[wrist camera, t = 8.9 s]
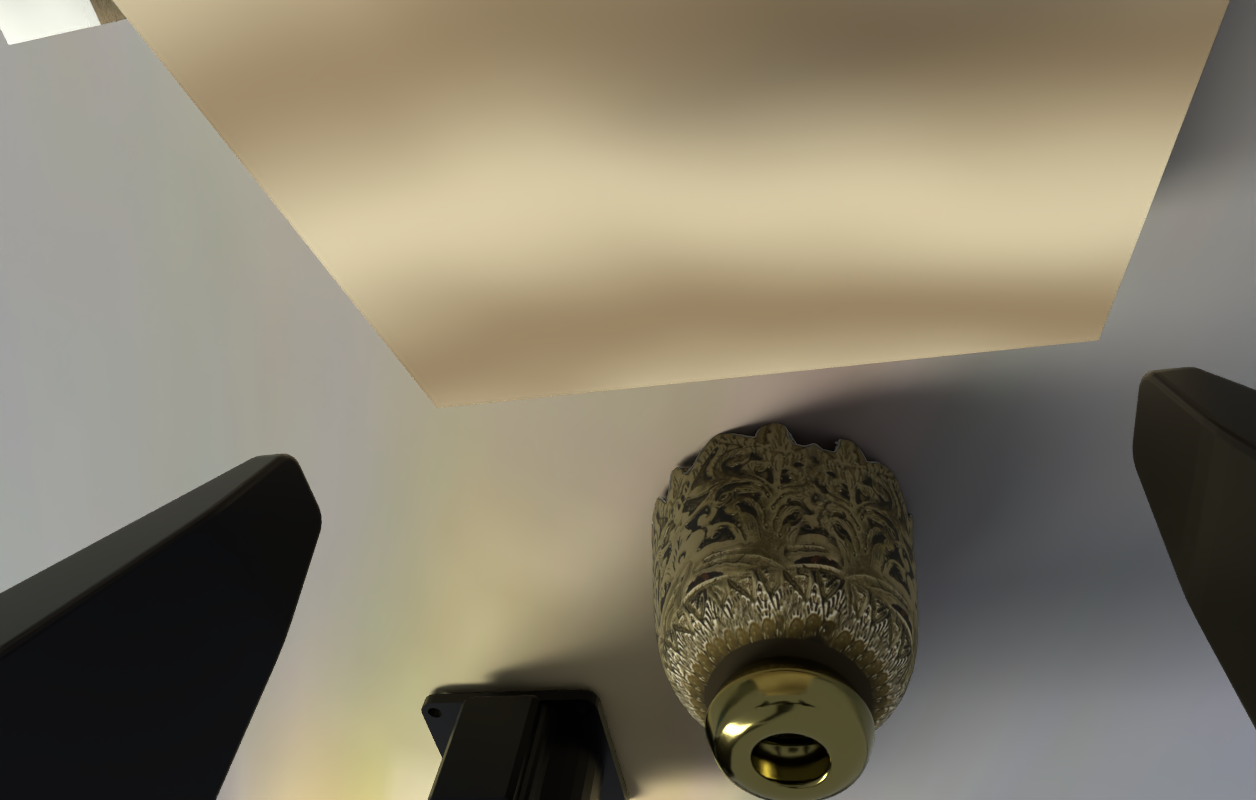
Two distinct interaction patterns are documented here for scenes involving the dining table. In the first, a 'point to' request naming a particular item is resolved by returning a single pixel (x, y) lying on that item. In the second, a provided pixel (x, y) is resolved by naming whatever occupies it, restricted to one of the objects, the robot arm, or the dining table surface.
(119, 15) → the trapdoor frame
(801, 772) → the bronze domed piece
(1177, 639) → the dining table surface
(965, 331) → the trapdoor
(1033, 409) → the dining table surface
